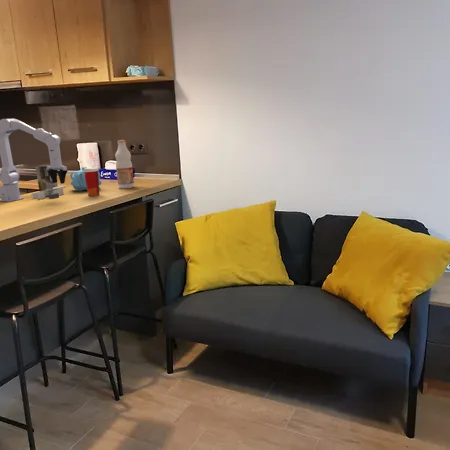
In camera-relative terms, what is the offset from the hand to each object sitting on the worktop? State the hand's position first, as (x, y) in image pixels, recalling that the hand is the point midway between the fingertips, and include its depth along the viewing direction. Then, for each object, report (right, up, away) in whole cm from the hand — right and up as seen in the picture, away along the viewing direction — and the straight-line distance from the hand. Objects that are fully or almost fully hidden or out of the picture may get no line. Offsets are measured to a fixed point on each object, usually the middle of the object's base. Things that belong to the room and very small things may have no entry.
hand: (58, 183), depth 251 cm
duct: (-10, -7, +10) cm, 16 cm away
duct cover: (-7, -2, +14) cm, 16 cm away
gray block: (-5, -8, +5) cm, 10 cm away
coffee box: (-14, -4, +24) cm, 28 cm away
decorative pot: (+7, -2, +27) cm, 28 cm away
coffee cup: (+17, -6, +7) cm, 19 cm away
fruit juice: (+31, 0, +28) cm, 42 cm away
